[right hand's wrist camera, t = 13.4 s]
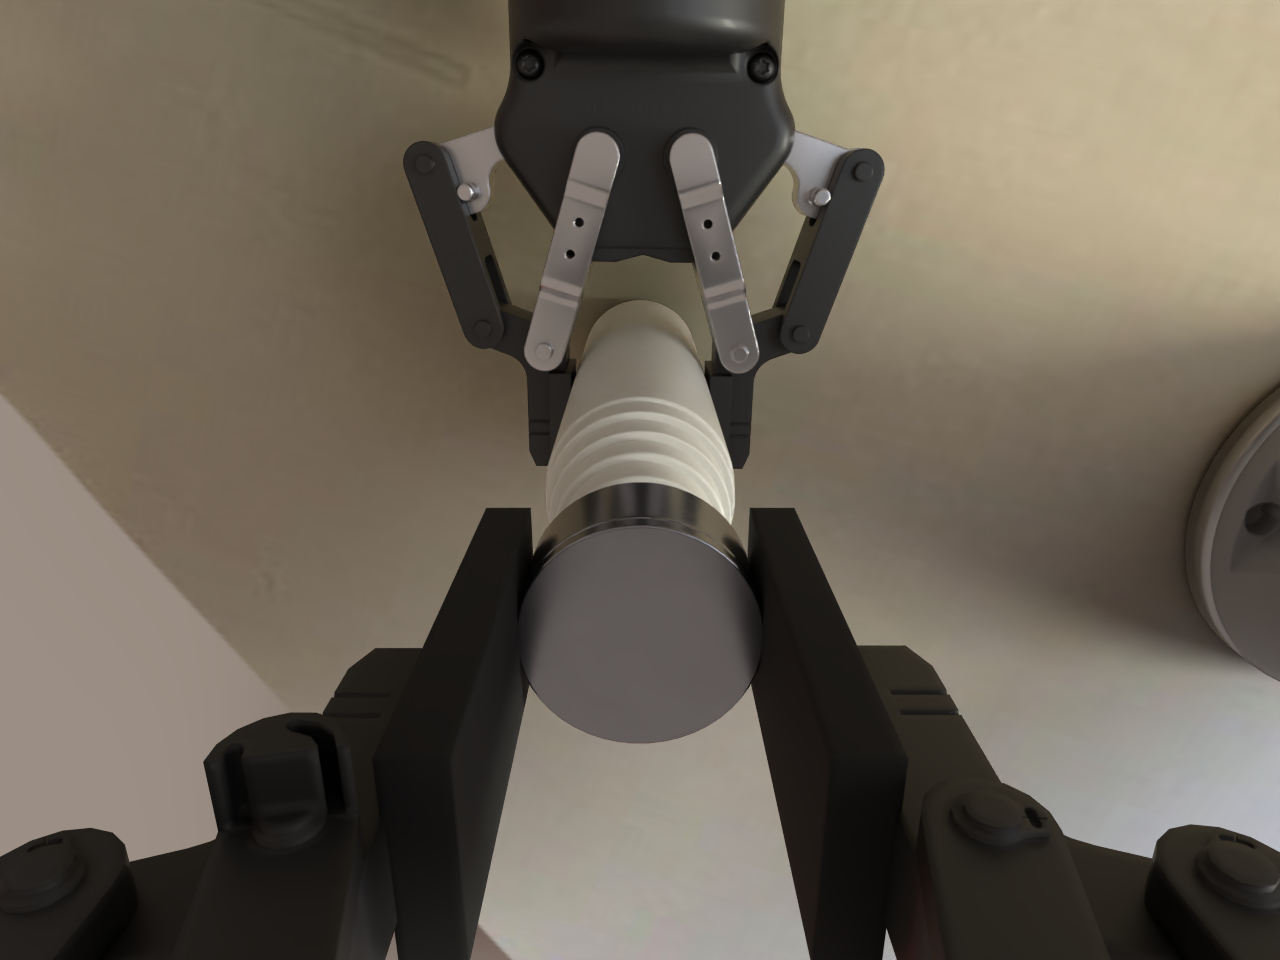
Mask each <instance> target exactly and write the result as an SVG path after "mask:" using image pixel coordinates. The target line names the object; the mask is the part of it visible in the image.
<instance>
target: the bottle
mask: <svg viewBox="0 0 1280 960" xmlns="http://www.w3.org/2000/svg"><path fill="white" fill-rule="evenodd" d="M631 482H649V483H658V484H664V485H668V486H672V487H676V488H679V489H681V490H684V491H687V492H689V493H691V494H693V495H695V496H697V497H699V498H701V499H703V500H704V501H705V502H707V503H708V504H710V505H711V506H712V507H714V508H715V509H716V510H717V511H718V512H719V513H720V514H721V515H723V516H724V517H725V518H726V520H727V521H728V522H729V523H730V525H731V523H732V518H733V514H734V506H735V490H734V487H735V484H734V472H733V467H732V462H731V459H730V456H729V452H728V449H727V446H726V443H725V440H724V437H723V433H722V430H721V427H720V424H719V421H718V417H717V414H716V411H715V408H714V405H713V401H712V398H711V395H710V392H709V389H708V385H707V382H706V379H705V376H704V373H703V369H702V366H701V363H700V360H699V357H698V354H697V350H696V347H695V344H694V341H693V338H692V335H691V333H690V330H689V328H688V327H687V325H686V324H685V322H684V321H683V320H682V319H681V317H680V316H679V315H677V314H676V313H675V312H674V311H673V310H671V309H670V308H668V307H666V306H664V305H662V304H659V303H656V302H653V301H647V300H633V301H628V302H624V303H621V304H618V305H616V306H614V307H612V308H611V309H609V310H608V311H606V312H605V313H604V314H603V315H602V316H601V317H600V318H599V319H598V320H597V321H596V323H595V324H594V326H593V327H592V329H591V331H590V333H589V336H588V339H587V342H586V345H585V348H584V352H583V355H582V358H581V361H580V364H579V368H578V371H577V374H576V377H575V380H574V383H573V387H572V390H571V393H570V396H569V399H568V403H567V406H566V409H565V412H564V415H563V418H562V422H561V425H560V428H559V431H558V434H557V438H556V441H555V444H554V447H553V450H552V453H551V457H550V460H549V463H548V467H547V474H546V492H545V505H546V513H547V518H548V521H549V525H550V524H551V522H552V521H553V520H554V519H555V518H556V517H557V516H558V515H559V514H560V513H561V512H562V511H563V510H564V509H565V508H566V507H568V506H569V505H570V504H572V503H573V502H575V501H576V500H578V499H580V498H581V497H583V496H585V495H587V494H589V493H591V492H594V491H596V490H599V489H601V488H604V487H608V486H612V485H616V484H623V483H631Z"/></svg>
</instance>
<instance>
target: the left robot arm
mask: <svg viewBox="0 0 1280 960" xmlns="http://www.w3.org/2000/svg"><path fill="white" fill-rule="evenodd" d="M784 5H785V0H508V7H509V35H510V78H509V83H508V88H507V91H506V94H505V97H504V99H503V101H502V103H501V105H500V107H499V109H498V111H497V114H496V118H495V123H494V127H490V128H487V129H484V130H481V131H478V132H475V133H472V134H469V135H466V136H462V137H459V138H456V139H453V140H450V141H447V142H444V143H434V142H427V141H420V142H416V143H414V144H412V145H411V146H410V147H409V148H408V149H407V151H406V152H405V155H404V159H403V165H404V170H405V173H406V176H407V178H408V181H409V184H410V187H411V189H412V192H413V195H414V198H415V200H416V203H417V206H418V209H419V211H420V214H421V217H422V220H423V222H424V225H425V228H426V231H427V233H428V236H429V239H430V242H431V244H432V247H433V250H434V253H435V255H436V258H437V261H438V264H439V266H440V269H441V272H442V274H443V277H444V280H445V283H446V285H447V288H448V291H449V294H450V296H451V299H452V302H453V305H454V307H455V310H456V313H457V316H458V318H459V321H460V324H461V327H462V329H463V332H464V335H465V337H466V339H467V340H468V341H469V342H470V343H471V344H472V345H473V346H475V347H477V348H481V349H488V348H492V349H495V350H497V351H500V352H503V353H505V354H508V355H511V356H513V357H514V358H516V359H517V360H518V361H519V362H520V363H521V364H522V365H523V367H524V369H525V371H526V374H527V386H528V417H529V448H530V453H531V455H532V457H533V459H534V462H535V464H536V466H548V463H549V460H550V457H551V453H552V450H553V447H554V444H555V441H556V438H557V434H558V431H559V428H560V425H561V422H562V418H563V415H564V412H565V409H566V406H567V403H568V399H569V396H570V393H571V390H572V387H573V383H574V380H575V377H576V359H570V354H569V343H570V340H571V336H572V333H573V329H574V326H575V322H576V319H577V315H578V312H579V308H580V305H581V301H582V298H583V295H584V291H585V288H586V285H587V282H588V278H589V275H590V272H591V268H592V265H593V261H600V262H617V261H621V260H624V259H628V258H632V257H636V256H640V255H646V256H650V257H653V258H657V259H660V260H664V261H667V262H675V263H692V265H693V269H694V273H695V277H696V280H697V284H698V288H699V291H700V294H701V298H702V302H703V306H704V310H705V313H706V317H707V321H708V325H709V329H710V333H711V337H712V361H705V373H704V376H705V379H706V382H707V385H708V389H709V392H710V395H711V398H712V401H713V405H714V408H715V411H716V414H717V417H718V421H719V424H720V427H721V430H722V433H723V437H724V440H725V443H726V446H727V449H728V452H729V456H730V459H731V462H732V467H733V469H742V468H743V466H744V464H745V462H746V460H747V458H748V455H749V449H750V432H751V416H752V399H753V382H754V377H755V374H756V372H757V370H758V369H759V368H760V366H761V365H762V364H764V363H765V362H767V361H768V360H770V359H773V358H776V357H779V356H782V355H785V354H788V353H791V352H792V353H795V354H803V353H807V352H809V351H810V350H812V349H813V348H814V347H815V346H816V345H817V343H818V341H819V339H820V336H821V334H822V331H823V329H824V326H825V324H826V321H827V319H828V316H829V314H830V311H831V309H832V306H833V303H834V301H835V298H836V296H837V293H838V291H839V288H840V286H841V283H842V281H843V278H844V276H845V273H846V270H847V268H848V265H849V263H850V260H851V258H852V255H853V253H854V250H855V248H856V245H857V243H858V240H859V238H860V235H861V232H862V230H863V227H864V225H865V222H866V220H867V217H868V215H869V212H870V210H871V207H872V205H873V202H874V200H875V197H876V194H877V192H878V189H879V187H880V184H881V182H882V179H883V176H884V163H883V160H882V158H881V157H880V155H879V154H878V153H877V152H875V151H873V150H871V149H863V148H853V149H846V148H843V147H841V146H838V145H835V144H832V143H829V142H826V141H824V140H821V139H818V138H815V137H812V136H809V135H807V134H804V133H801V132H798V131H795V124H794V119H793V116H792V113H791V111H790V109H789V107H788V105H787V102H786V100H785V97H784V93H783V90H782V84H781V53H782V37H783V21H784ZM505 161H506V162H507V164H508V165H509V167H510V168H511V169H512V171H513V172H514V174H515V175H516V176H517V178H518V179H519V181H520V182H521V183H522V185H523V186H524V188H525V189H526V190H527V192H528V193H529V195H530V196H531V197H532V199H533V200H534V202H535V203H536V204H537V206H538V207H539V209H540V210H541V211H542V213H543V214H544V216H545V217H546V219H547V220H548V221H549V223H550V224H551V226H552V227H553V228H554V234H553V238H552V241H551V245H550V249H549V253H548V256H547V260H546V264H545V267H544V271H543V275H542V279H541V283H540V290H539V294H538V298H537V302H536V306H535V309H534V313H532V312H529V311H527V310H524V309H521V308H519V307H516V306H513V305H512V304H511V301H510V298H509V295H508V292H507V289H506V286H505V283H504V280H503V277H502V274H501V271H500V268H499V265H498V262H497V259H496V257H495V254H494V251H493V248H492V245H491V242H490V239H489V236H488V233H487V230H486V227H485V224H484V221H483V218H482V215H481V212H482V211H484V210H486V209H488V208H489V207H490V206H491V205H492V203H493V201H494V198H495V186H494V175H495V172H496V170H497V168H498V167H499V165H501V164H502V163H503V162H505ZM782 165H784V166H785V167H787V168H788V169H789V171H790V172H791V174H792V176H793V181H794V187H793V192H792V202H793V205H794V207H795V209H796V210H797V211H798V212H799V213H800V214H802V215H804V216H806V218H805V221H804V224H803V226H802V229H801V232H800V234H799V237H798V240H797V242H796V245H795V248H794V251H793V253H792V256H791V259H790V261H789V264H788V267H787V269H786V272H785V275H784V278H783V280H782V283H781V286H780V288H779V291H778V294H777V296H776V299H775V302H774V305H773V307H772V309H769V310H766V311H763V312H760V313H757V314H754V315H752V316H751V313H750V309H749V305H748V301H747V297H746V288H745V283H744V278H743V274H742V270H741V266H740V262H739V257H738V253H737V249H736V245H735V241H734V237H733V230H734V229H735V228H736V226H737V225H738V224H739V222H740V221H741V220H742V219H743V217H744V216H745V215H746V213H747V212H748V211H749V209H750V208H751V207H752V205H753V204H754V203H755V201H756V200H757V199H758V197H759V196H760V195H761V193H762V192H763V191H764V189H765V188H766V187H767V185H768V184H769V183H770V181H771V180H772V179H773V177H774V176H775V175H776V173H777V172H778V171H779V169H780V168H781V167H782Z"/></svg>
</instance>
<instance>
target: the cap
mask: <svg viewBox="0 0 1280 960" xmlns="http://www.w3.org/2000/svg"><path fill="white" fill-rule="evenodd" d="M517 621H518V640H519V657H520V664H521V667H522V670H523V672H524V675H525V677H526V679H527V680H528V682H529V684H530V686H531V688H532V689H533V690H534V692H535V693H536V694H537V696H538V697H539V699H540V700H541V701H542V702H543V703H544V704H545V705H546V706H547V707H548V708H549V709H550V710H551V711H552V712H553V713H555V714H556V715H557V716H558V717H560V718H561V719H562V720H564V721H566V722H567V723H569V724H570V725H572V726H574V727H575V728H577V729H580V730H582V731H584V732H586V733H588V734H591V735H594V736H597V737H600V738H603V739H608V740H612V741H617V742H625V743H655V742H663V741H668V740H672V739H677V738H680V737H683V736H686V735H689V734H692V733H694V732H696V731H698V730H700V729H703V728H705V727H707V726H708V725H710V724H711V723H713V722H715V721H716V720H718V719H719V718H721V717H722V716H723V715H724V714H725V713H727V712H728V711H729V710H730V709H731V708H732V707H733V706H734V705H735V704H736V703H737V702H738V701H739V700H740V699H741V697H742V696H743V695H744V693H745V692H746V690H747V689H748V688H749V686H750V684H751V683H752V681H753V679H754V677H755V675H756V673H757V670H758V667H759V665H760V662H761V650H762V632H763V614H762V610H761V606H760V602H759V598H758V595H757V591H756V587H755V584H754V580H753V577H752V573H751V569H750V566H749V562H748V559H747V555H746V552H745V549H744V547H743V545H742V542H741V540H740V538H739V537H738V535H737V533H736V532H735V530H734V528H733V527H732V526H731V525H730V523H729V522H728V521H727V520H726V518H725V517H724V516H723V515H721V514H720V513H719V512H718V511H717V510H716V509H715V508H714V507H712V506H711V505H710V504H708V503H707V502H705V501H704V500H703V499H701V498H699V497H697V496H695V495H693V494H691V493H689V492H687V491H684V490H681V489H679V488H676V487H672V486H668V485H664V484H658V483H649V482H631V483H623V484H616V485H612V486H608V487H604V488H601V489H599V490H596V491H594V492H591V493H589V494H587V495H585V496H583V497H581V498H580V499H578V500H576V501H575V502H573V503H572V504H570V505H569V506H568V507H566V508H565V509H564V510H563V511H562V512H561V513H560V514H559V515H558V516H557V517H556V518H555V519H554V520H553V521H552V522H551V524H550V525H549V526H548V527H547V529H546V530H545V532H544V533H543V535H542V537H541V539H540V540H539V542H538V545H537V547H536V550H535V552H534V555H533V559H532V562H531V566H530V570H529V573H528V577H527V581H526V584H525V588H524V591H523V595H522V599H521V602H520V606H519V610H518V614H517Z"/></svg>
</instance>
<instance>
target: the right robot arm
mask: <svg viewBox="0 0 1280 960" xmlns="http://www.w3.org/2000/svg"><path fill="white" fill-rule="evenodd" d="M532 559H533V546H532V525H531V508H486V510H485V512H484V514H483V516H482V519H481V521H480V523H479V525H478V527H477V530H476V532H475V534H474V536H473V538H472V541H471V543H470V545H469V547H468V549H467V552H466V554H465V556H464V558H463V560H462V563H461V565H460V567H459V569H458V571H457V573H456V576H455V578H454V580H453V582H452V584H451V587H450V589H449V591H448V593H447V595H446V598H445V600H444V602H443V604H442V606H441V609H440V611H439V613H438V615H437V617H436V620H435V622H434V624H433V626H432V628H431V631H430V633H429V635H428V637H427V639H426V642H425V644H424V646H423V648H375V649H374V650H372V651H371V652H370V653H369V654H367V655H366V656H365V657H363V658H362V659H361V660H359V661H358V662H357V663H355V664H354V665H353V666H352V667H350V668H349V669H348V671H347V672H346V674H345V676H344V677H343V679H342V681H341V682H340V684H339V686H338V688H337V689H336V691H335V693H334V694H335V695H334V698H331V700H330V701H329V703H328V705H327V706H326V708H325V710H324V712H323V715H322V714H318V713H286V714H282V715H277V716H273V717H267V718H263V719H261V720H258V721H256V722H254V723H251V724H249V725H247V726H244V727H242V728H240V729H237V730H236V731H235V732H233V733H232V734H230V735H229V736H228V737H226V738H225V739H223V740H222V741H221V742H219V743H218V744H216V746H215V747H214V748H213V750H212V751H211V752H210V754H209V755H208V756H207V758H206V759H205V760H204V762H203V763H204V768H205V772H206V777H207V782H208V786H209V791H210V795H211V800H212V805H213V809H214V814H215V819H216V823H217V828H218V834H217V836H216V839H215V840H213V841H210V842H207V843H204V844H201V845H197V846H194V847H191V848H187V849H183V850H179V851H174V852H170V853H166V854H161V855H157V856H153V857H148V858H144V859H140V860H136V861H131V862H129V859H128V855H127V851H126V847H125V844H124V843H123V842H122V841H121V840H120V839H119V838H118V837H117V836H116V835H114V834H113V833H112V832H107V831H102V830H98V829H93V828H85V829H75V830H65V831H60V832H57V833H54V834H51V835H48V836H45V837H41V838H38V839H35V840H32V841H30V842H28V843H26V844H24V845H22V846H20V847H18V848H16V849H14V850H12V851H11V852H9V853H7V854H5V855H3V856H1V857H0V960H385V958H386V955H387V952H388V949H389V946H390V943H391V940H392V937H393V934H394V930H395V938H396V945H397V953H398V960H470V958H471V953H472V948H473V944H474V939H475V934H476V930H477V925H478V920H479V916H480V911H481V906H482V902H483V897H484V892H485V888H486V883H487V879H488V874H489V869H490V865H491V860H492V855H493V851H494V846H495V841H496V837H497V832H498V827H499V823H500V818H501V814H502V809H503V804H504V800H505V795H506V790H507V786H508V781H509V776H510V772H511V767H512V762H513V758H514V753H515V748H516V744H517V739H518V735H519V730H520V725H521V721H522V716H523V711H524V707H525V702H526V697H527V693H528V688H529V682H528V680H527V679H526V677H525V675H524V672H523V670H522V667H521V664H520V657H519V640H518V621H517V614H518V610H519V606H520V602H521V599H522V595H523V591H524V588H525V584H526V581H527V577H528V573H529V570H530V566H531V562H532ZM747 559H748V562H749V566H750V569H751V573H752V577H753V580H754V584H755V587H756V591H757V595H758V598H759V602H760V606H761V610H762V614H763V632H762V650H761V662H760V665H759V667H758V670H757V673H756V675H755V677H754V679H753V681H752V683H751V686H752V690H753V695H754V700H755V704H756V709H757V713H758V718H759V723H760V727H761V732H762V737H763V741H764V746H765V751H766V755H767V760H768V765H769V769H770V774H771V778H772V783H773V788H774V792H775V797H776V802H777V806H778V811H779V816H780V820H781V825H782V830H783V834H784V839H785V843H786V848H787V853H788V857H789V862H790V867H791V871H792V876H793V881H794V885H795V890H796V895H797V899H798V904H799V909H800V913H801V918H802V922H803V927H804V932H805V936H806V941H807V946H808V950H809V955H810V960H882V957H883V950H884V942H885V935H886V928H887V931H888V934H889V937H890V940H891V943H892V946H893V949H894V952H895V955H896V959H897V960H1280V852H1278V851H1276V850H1274V849H1273V848H1271V847H1269V846H1267V845H1265V844H1263V843H1261V842H1259V841H1257V840H1255V839H1253V838H1251V837H1249V836H1245V835H1242V834H1239V833H1236V832H1233V831H1229V830H1226V829H1223V828H1220V827H1212V826H1202V825H1191V824H1190V825H1186V826H1181V827H1177V828H1172V829H1169V830H1168V831H1167V832H1166V833H1165V834H1163V835H1162V836H1161V837H1160V838H1159V839H1158V840H1157V842H1156V846H1155V850H1154V854H1153V858H1147V857H1143V856H1139V855H1134V854H1130V853H1126V852H1121V851H1117V850H1113V849H1108V848H1104V847H1100V846H1095V845H1092V844H1088V843H1085V842H1082V841H1079V840H1075V839H1072V838H1069V837H1067V836H1065V835H1063V832H1062V830H1061V829H1060V827H1059V825H1058V824H1057V822H1056V821H1055V819H1054V818H1053V816H1052V815H1051V813H1050V812H1049V811H1048V810H1047V809H1046V808H1044V807H1043V806H1042V805H1041V804H1039V803H1038V802H1037V801H1036V800H1034V799H1033V798H1032V797H1031V796H1030V795H1027V794H1025V793H1023V792H1021V791H1019V790H1017V789H1015V788H1013V787H1011V786H1009V785H1007V784H1004V783H1001V782H1000V780H999V778H998V776H997V775H996V773H995V771H994V770H993V768H992V766H991V765H990V763H989V761H988V760H987V758H986V756H985V754H984V753H983V751H982V749H981V748H980V746H979V744H978V743H977V741H976V739H975V737H974V736H973V734H972V732H971V731H970V729H969V727H968V726H967V724H966V722H965V721H964V719H963V717H962V715H959V714H958V709H957V707H956V705H955V704H954V702H953V700H952V698H951V697H950V695H947V692H946V691H947V690H946V688H945V687H944V685H943V683H942V681H941V680H940V678H939V676H938V675H937V673H936V671H935V670H934V668H933V666H932V665H930V664H929V663H928V662H926V661H925V660H924V659H922V658H921V657H920V656H918V655H917V654H916V653H914V652H913V651H912V650H911V649H909V648H908V647H907V646H857V645H856V642H855V640H854V638H853V636H852V634H851V631H850V629H849V627H848V625H847V623H846V620H845V618H844V616H843V614H842V612H841V610H840V607H839V605H838V603H837V601H836V599H835V596H834V594H833V592H832V590H831V588H830V585H829V583H828V581H827V579H826V577H825V574H824V572H823V570H822V568H821V566H820V563H819V561H818V559H817V557H816V555H815V552H814V550H813V548H812V546H811V544H810V542H809V539H808V537H807V535H806V533H805V531H804V528H803V526H802V524H801V522H800V520H799V517H798V515H797V513H796V511H795V509H794V508H750V516H749V537H748V557H747ZM1185 562H1186V573H1187V578H1188V582H1189V587H1190V590H1191V593H1192V596H1193V598H1194V601H1195V603H1196V605H1197V607H1198V609H1199V611H1200V613H1201V615H1202V616H1203V618H1204V619H1205V621H1206V622H1207V624H1208V625H1209V627H1210V628H1211V629H1212V630H1213V631H1214V632H1215V633H1216V634H1217V636H1218V637H1219V638H1220V639H1222V640H1223V641H1224V642H1225V643H1226V644H1227V645H1228V646H1230V647H1231V648H1232V649H1233V650H1235V651H1236V652H1237V653H1238V654H1240V655H1241V656H1242V657H1243V658H1244V659H1246V660H1247V661H1248V662H1249V663H1251V664H1252V665H1253V666H1255V667H1256V668H1258V669H1259V670H1260V671H1262V672H1263V673H1265V674H1266V675H1268V676H1270V677H1272V678H1274V679H1276V680H1278V681H1280V387H1279V388H1278V389H1277V390H1275V391H1274V392H1273V393H1272V394H1270V395H1269V396H1268V397H1267V398H1266V399H1265V400H1263V401H1262V402H1261V403H1260V404H1259V405H1258V406H1257V407H1256V408H1255V409H1254V410H1252V412H1251V413H1250V414H1249V415H1248V416H1247V417H1246V418H1245V419H1244V420H1243V421H1242V422H1241V423H1240V424H1239V425H1238V427H1237V428H1236V429H1235V430H1234V432H1233V433H1232V434H1231V435H1230V437H1229V438H1228V439H1227V440H1226V442H1225V443H1224V444H1223V446H1222V447H1221V449H1220V450H1219V452H1218V453H1217V455H1216V456H1215V458H1214V459H1213V461H1212V463H1211V465H1210V467H1209V468H1208V470H1207V472H1206V474H1205V476H1204V478H1203V480H1202V482H1201V485H1200V487H1199V489H1198V491H1197V494H1196V497H1195V500H1194V503H1193V506H1192V509H1191V513H1190V517H1189V521H1188V526H1187V533H1186V541H1185Z"/></svg>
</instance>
